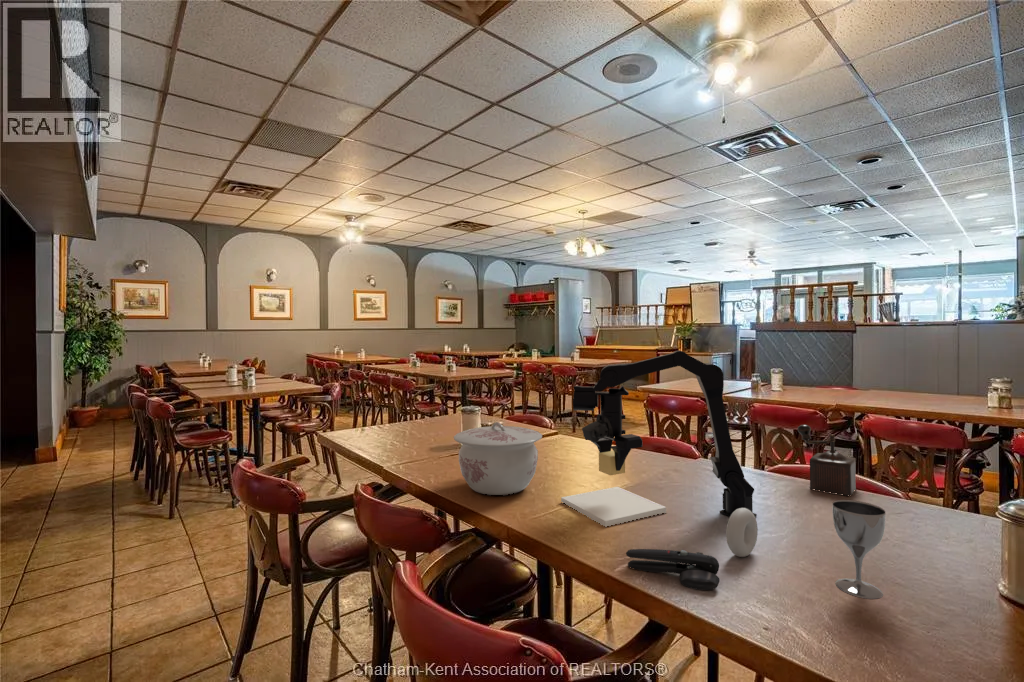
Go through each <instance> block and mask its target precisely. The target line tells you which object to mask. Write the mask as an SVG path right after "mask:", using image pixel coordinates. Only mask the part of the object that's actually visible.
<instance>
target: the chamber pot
mask: <svg viewBox="0 0 1024 682" xmlns="http://www.w3.org/2000/svg"><path fill="white" fill-rule="evenodd" d="M542 438H543V434H542V433H541V432H539V430H538V431H537V430H535V429H531V428H528V427H521V426H514V425H512V426H511V425H503V424H502V423H500V422H498V421H497V422H494V423H493V424H492V425H490V426H482V427H481V426H480V427H474V428H473V427H472V428H470V429H466V430H462V431H460V432H457V433H456V434H454V436H453V440H454V441H455V442H457V443H459V444H461V447H460V448H459V450H458V463H459V468H460V473H461V476H462V477H463V479H464V480H465V482H466V483H467V485H468V486H469V488H470V489H471V490H472V491H474V492H476V493H479V494H483V495H485V494H487V495H486V496H491V495H503V496H509V495H508V494H510V495H512V494H513V493H514V494H517V493H519V492H522V491H523V490H525V489H527V487H528V486H529V484H530V483H531V481H532V479H533V478H534V476H535V474H536V470H537V464H538V460H539V459H538V458H539V450H538V448H537V447H536V445H535V443H536V442H538V441H540V440H541V439H542ZM514 494H513V495H514Z"/></svg>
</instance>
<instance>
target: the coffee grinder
mask: <svg viewBox="0 0 1024 682" xmlns="http://www.w3.org/2000/svg"><path fill="white" fill-rule="evenodd" d="M811 430H812V427H811V426H810V425H808V424H800V425H799V426H797V432H798V433H799V434H800V435H801V440H804V443H805V444H810V445H811V444H812V445H815V444H818V445H819V444H822V445H823V444H829V443H830V450H826V451H824V452H817V453H815V454H814V455H813V456H812V457H811V458H810V459H809V490H810V489H815V490H820V491H825V492H831V493H837V494H843V495H849V496H850V495H852V494H854V493H855V492H854V490H857V488H856V486H857V485H856V481H857V479H856V478H857V477H856V472H857V471H856V463H857V462H856V461H857V459H856V457H849V456H847V455H844V454H843V453H841V452H839V451H837V449H835V442H836V439H835V438H836V436H835V435H834V434H830V435H829V439H827V440H812V436H811V435H810V433H811ZM853 492H854V493H853ZM852 496H853V495H852ZM850 497H851V496H850Z"/></svg>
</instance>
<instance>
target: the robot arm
mask: <svg viewBox="0 0 1024 682" xmlns="http://www.w3.org/2000/svg"><path fill="white" fill-rule="evenodd" d="M677 367H681V368H683V369H684V370H686V371H687V372H690V373H692V374H693V375H695V377H696V380H697V382H698V385H699V387H700V389H701V392H702V394H703V396H704V399H705V401H706V402H705V403H706V407H707V412H708V417H709V420H710V421H709V422H710V425H711V432H712V435H713V436H712V437H713V442H714V446H715V456H710V457H709V459H710V461H711V464H712V473H713V474H714V475H715V477H716V478H717V479H719V481H720V483H721V484H722V485H723V486H725V487H726V488H723V493H722V509H721V510H719V513H720V514H722V515H724V516H727V517H729V518H730V516H731V514H732V513H733V512H734V511H735V510H736V509H739V508H746V509H748V510H750V511H751V512H752V513H753V514H754V516H755V518H756V517H757V516H758V515H757V513H755V512H754V511H753V495H754V492H755V487H753V486H752V485H751V484H750V483H749V481H748V480H747V479H746V478H745V475H744V472H743V470H742V466H741V464H740V462H739V460H738V458H737V456H736V453H735V451H734V448H733V444H732V439H731V434H730V430H729V429H730V428H729V424H728V419H727V415H726V414H727V413H726V408H725V404H724V400H723V398H724V397H723V395H724V386H725V385H724V372H723V369H722V368H721V367H719V366H718V365H716V364H713V363H709V362H705V363H704V362H703V361H700V360H699V359H696V358H694V357H693V356H691V355H690V354H687V353H686V352H685V351H683V350H675V351H673V352H671V353H666V354H662V355H659V356H654V357H651V358H648V359H644V360H639V361H635V362H631V363H617V364H615V363H614V364H608V365H605V366H604V367H602V369H601V371H600V374H599V380H597V382H595V383H594V386H582V385H575V386H573V398H572V409H573V411H579V412H580V411H583V412H584V411H586V412H594V411H595V409H596V408H598V407H599V401H600V413H599V414H597V416H596V420H595V421H593V422H590V423H589V424H587V425H585V426H584V427H582V428H581V430H582V433H583V438H584V439H585V441H589V442H591V443H593V444H594V445H595V446H596V448H597V449H598V454H599V453H601V452H608V451H614V453H615V466H616V470H617V471H620V470H621V468H622V465H623V463H624V461H625V462H626V459H627V458H628V455H629V454H630V452H631V451H632V449H638V448H643V446H644V445H643V439H642V437H641V436H639V435H636V434H633V433H628V434H627V433H626V430H625V429H623V420H626V415H625V414H623V413H622V412H623V397H622V396H629V395H630V393H629V391H628V390H627V389H626V388H625V387H624V385H621V384H624V383H627V382H628V381H630V380H632V379H634V378H636V377H641V376H645V375H649V374H653V373H656V372H660V371H664V370H669V369H671V368H677ZM620 385H621V386H620ZM618 386H620V387H619V388H615V387H618ZM607 388H608V391H604V390H605V389H607ZM599 396H600V397H599ZM599 399H600V400H599ZM613 442H615V443H614V444H615V445H613Z"/></svg>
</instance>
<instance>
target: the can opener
mask: <svg viewBox="0 0 1024 682" xmlns="http://www.w3.org/2000/svg"><path fill="white" fill-rule="evenodd" d="M625 555H626V556H627V557H629V558H630V559H633V560H630V561H629V562H628V563H627V566H628V568H630V567H631V568H630V569H632V568H634V569H633V570H636V569H638V570H637V571H641V570H643V571H642V572H647V571H649V572H648V573H650V572H651V573H669V574H671V573H672V574H678V575H679V582H680V583H681V585H682V586H684V587H687V588H689V589H693V590H700V591H710V590H711V591H712V590H714V589H716V588H718V586H719V583H720V577H719V576H718V575H717V574H718V572H719V569H720V564H719V561H718V559H717V557H715V556H713V555H709V554H704V553H703V552H701V551H696V552H695V553H694V552H688V551H686V550H684V549H681V550H674V549H673V550H672V549H671V550H670V549H656V548H654V549H653V548H636V549H635V548H634V549H633V548H631V549H628V550H627V551H626V553H625ZM634 559H635V560H634ZM637 559H638V560H637ZM641 559H643V560H641Z"/></svg>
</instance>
